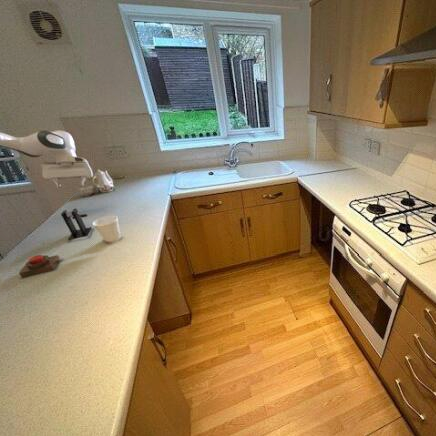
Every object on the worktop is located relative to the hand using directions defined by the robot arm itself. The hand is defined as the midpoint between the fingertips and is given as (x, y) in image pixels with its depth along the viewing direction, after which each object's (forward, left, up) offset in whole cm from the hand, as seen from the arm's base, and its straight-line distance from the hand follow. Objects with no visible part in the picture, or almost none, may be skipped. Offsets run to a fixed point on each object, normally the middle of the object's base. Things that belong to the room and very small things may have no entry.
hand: (70, 186), depth 128 cm
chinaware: (0, +53, -21) cm, 57 cm away
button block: (-7, -44, -21) cm, 49 cm away
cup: (+17, -33, -21) cm, 43 cm away
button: (-7, -44, -17) cm, 48 cm away
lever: (+1, -16, -12) cm, 20 cm away
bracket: (+1, -19, -21) cm, 28 cm away
